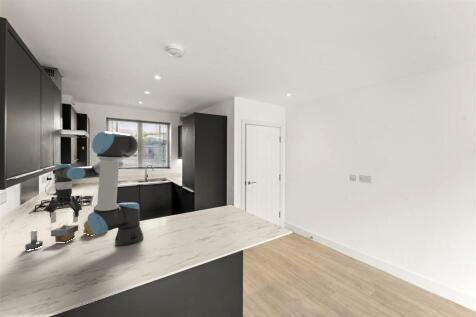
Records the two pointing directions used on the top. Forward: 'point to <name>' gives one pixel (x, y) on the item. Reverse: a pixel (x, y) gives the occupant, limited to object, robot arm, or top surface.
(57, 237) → the stand
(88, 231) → the cheese
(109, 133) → the robot arm
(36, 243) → the hub
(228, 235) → the top surface
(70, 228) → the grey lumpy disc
